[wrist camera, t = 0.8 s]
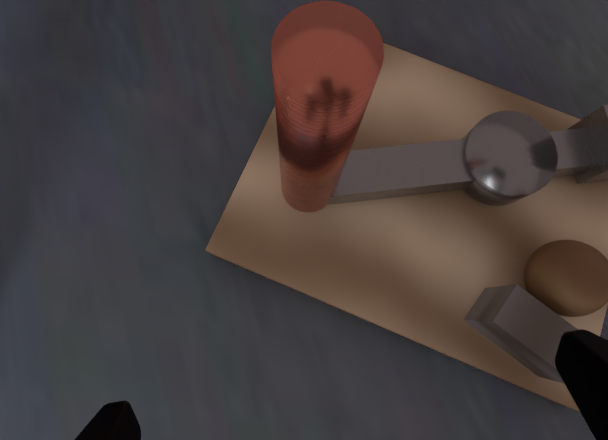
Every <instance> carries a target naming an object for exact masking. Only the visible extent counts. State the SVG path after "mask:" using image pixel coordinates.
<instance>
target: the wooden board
mask: <svg viewBox="0 0 608 440" xmlns="http://www.w3.org/2000/svg"><path fill="white" fill-rule="evenodd" d="M383 46H384V60H383V65H382V68H381V71H380V73H379V76H378V79H377V81H376V84H375V87H374V89H373V92H372V95H371V97H370V100H369V102H368V105H367V108H366V110H365V113H364V116H363V118H362V121H361V124H360V126H359V129H358V132H357V134H356V137H355V140H354V142H353V145H352V148H351V150H350V151H352V150H362V149H371V148H381V147H390V146H400V145H409V144H419V143H428V142H438V141H447V140H457V139H462V138H463V137H464V136H465V135H466V134H467V133H468V132H469V131H470V130H471V129H472V128H473V127H474V126H475V125H476V124H477V123H478V122H479V121H481V120H482V119H483V118H484V117H486V116H487V115H490V114H492V113H495V112H499V111H517V112H521V113H524V114H527V115H529V116H531V117H533V118H534V119H536V120H537V121H539V122H540V123H541V124H542V125H543V126H544V127H545V128H546V129H547V130H548V131H549V132H551V131H560V130H567V129H568V128H570V127H571V126H573V125H574V124H576V123H577V122H579V121H581V120H580V119H578V118H575V117H573V116H570V115H567V114H565V113H562V112H560V111H557V110H555V109H552V108H550V107H547V106H544V105H542V104H539V103H537V102H534V101H532V100H529V99H526V98H524V97H521V96H519V95H516V94H514V93H511V92H508V91H506V90H503V89H501V88H498V87H496V86H493V85H490V84H488V83H485V82H483V81H480V80H478V79H475V78H472V77H470V76H467V75H465V74H462V73H460V72H457V71H454V70H452V69H449V68H447V67H444V66H442V65H439V64H436V63H434V62H431V61H429V60H426V59H424V58H421V57H419V56H416V55H413V54H411V53H408V52H406V51H403V50H401V49H398V48H395V47H393V46H390V45H388V44H385V43H383ZM557 240H575V241H580V242H583V243H586V244H588V245H590V246H592V247H594V248H596V249H597V250H598V251H600V252H601V253H602V254H603V255H604V256H605V257H606V258H607V260H608V181H600V182H591V183H582V184H577V182H576V178H575V175H572V176H563V177H554V178H552V179H551V180H550V182H549V183H548V184H547V185H546V186H545V187H543V188H542V189H541V190H539V191H537V192H535V193H533V194H530V195H528V196H526V197H524V198H522V199H520V200H518V201H516V202H514V203H511V204H508V205H503V206H492V205H487V204H484V203H481V202H479V201H477V200H475V199H473V198H472V197H470V196H469V195H468V194H467V193H466V192H465V191H464V190H455V191H446V192H437V193H428V194H419V195H410V196H402V197H393V198H384V199H375V200H366V201H357V202H348V203H339V204H331V205H327V206H326V207H324V208H323V209H321V210H319V211H316V212H301V211H298V210H296V209H294V208H293V207H291V206H290V205H289V204H288V203H287V202H286V200H285V198H284V196H283V194H282V189H281V176H280V162H279V149H278V136H277V123H276V109H275V107H274V109H273V111H272V113H271V115H270V117H269V119H268V121H267V123H266V125H265V127H264V129H263V131H262V134H261V136H260V138H259V140H258V142H257V144H256V146H255V148H254V150H253V152H252V154H251V156H250V158H249V160H248V163H247V165H246V167H245V169H244V171H243V173H242V175H241V177H240V179H239V181H238V183H237V185H236V187H235V189H234V192H233V194H232V196H231V198H230V200H229V202H228V204H227V206H226V208H225V210H224V212H223V214H222V216H221V218H220V221H219V223H218V225H217V227H216V229H215V231H214V233H213V235H212V237H211V239H210V241H209V243H208V245H207V247H206V251H207V252H209V253H210V254H212V255H215V256H217V257H219V258H222V259H224V260H226V261H229V262H231V263H233V264H236V265H238V266H240V267H243V268H245V269H247V270H250V271H252V272H254V273H256V274H259V275H261V276H263V277H266V278H268V279H270V280H273V281H275V282H277V283H280V284H282V285H284V286H287V287H289V288H291V289H294V290H296V291H298V292H301V293H303V294H305V295H308V296H310V297H312V298H314V299H317V300H319V301H321V302H324V303H326V304H328V305H331V306H333V307H335V308H338V309H340V310H342V311H345V312H347V313H349V314H352V315H354V316H356V317H359V318H361V319H363V320H366V321H368V322H370V323H372V324H375V325H377V326H379V327H382V328H384V329H386V330H389V331H391V332H393V333H396V334H398V335H400V336H403V337H405V338H407V339H410V340H412V341H414V342H417V343H419V344H421V345H424V346H426V347H428V348H431V349H433V350H435V351H437V352H440V353H442V354H444V355H447V356H449V357H451V358H454V359H456V360H458V361H461V362H463V363H465V364H468V365H470V366H472V367H475V368H477V369H479V370H482V371H484V372H486V373H489V374H491V375H493V376H495V377H498V378H500V379H502V380H505V381H507V382H509V383H512V384H514V385H516V386H519V387H521V388H523V389H526V390H528V391H530V392H533V393H535V394H537V395H540V396H542V397H544V398H547V399H549V400H551V401H554V402H556V403H558V404H560V405H563V406H565V407H568V408H571V409H574V410H576V411H579V412H580V410H579V409H578V407H577V405H576V403H575V401H574V400H573V398H572V396H571V394H570V393H569V391H568V389H567V387H566V385H565V384H564V382H563V380H562V378H561V377H560V375H559V373H558V371H557V369H556V366H555V356H556V352H557V349H558V345H559V342H560V339H561V336H562V334H563V333H564V332H566V331H572V330H578V329H584V330H587V331H590V332H592V333H594V334H596V335H598V336H600V334H601V330H602V326H603V322H604V318H605V314H606V310H607V306H608V302H607V303H606V304H605V305H604V306H603V307H602V308H601V309H599V310H597V311H596V312H594V313H591V314H589V315H585V316H580V317H566V316H560V315H558V314H557V313H555V312H554V311H552V310H551V309H550V308H548V307H547V306H546V305H544V304H543V303H542V302H540V301H539V300H538V299H536V298H535V297H533V296H532V295H531V294H529V293H528V291H527V289H526V286H525V283H524V268H525V265H526V262H527V260H528V258H529V257H530V256H531V254H532V253H533V252H534V251H535V250H536V249H538V248H539V247H541V246H542V245H544V244H546V243H549V242H552V241H557Z"/></svg>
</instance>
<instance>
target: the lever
mask: <svg viewBox="0 0 608 440" xmlns="http://www.w3.org/2000/svg"><path fill="white" fill-rule="evenodd" d="M271 56H272V70H273V83H274V96H275V109H276V123H277V136H278V149H279V162H280V176H281V189H282V194H283V196H284V198H285V200H286V202H287V203H288V204H289V205H290V206H291V207H293V208H294V209H296V210H298V211H301V212H316V211H319V210H321V209H323V208H324V207H326V206H327V205H331V204H339V203H348V202H357V201H366V200H375V199H384V198H393V197H402V196H410V195H419V194H428V193H437V192H446V191H455V190H464V191H465V192H466V193H467V194H468V195H469V196H470V197H472V198H473V199H475V200H477V201H479V202H481V203H484V204H487V205H492V206H503V205H508V204H511V203H514V202H516V201H518V200H520V199H522V198H524V197H526V196H528V195H530V194H533V193H535V192H537V191H539V190H541V189H542V188H543V187H545V186H546V185H547V184H548V183H549V182H550V180H551V179H552V178H554V177H563V176H572V175H575V178H576V182H577V184H582V183H591V182H600V181H608V105H604V106H602V107H600V108H599V109H597V110H596V111H594V112H593V113H591V114H590V115H588V116H587V117H585V118H584V119H582V120H581V121H579V122H577V123H576V124H574V125H573V126H571V127H570V128H568V129H567V130H560V131H551V132H549V131H548V130H547V129H546V128H545V127H544V126H543V125H542V124H541V123H540V122H539V121H537V120H536V119H534V118H533V117H531V116H529V115H527V114H524V113H521V112H517V111H499V112H495V113H492V114H490V115H487V116H486V117H484V118H483V119H482V120H481V121H479V122H478V123H477V124H476V125H475V126H474V127H473V128H472V129H471V130H470V131H469V132H468V133H467V134H466V135H465V136H464V137H463V138H462V139H457V140H447V141H438V142H428V143H419V144H409V145H400V146H390V147H381V148H371V149H362V150H352V151H350V150H351V148H352V145H353V142H354V140H355V137H356V134H357V132H358V129H359V126H360V124H361V121H362V118H363V116H364V113H365V110H366V108H367V105H368V102H369V100H370V97H371V95H372V92H373V89H374V87H375V84H376V81H377V79H378V76H379V73H380V71H381V68H382V65H383V60H384V46H383V41H382V38H381V35H380V33H379V31H378V29H377V28H376V26H375V25H374V23H373V22H372V21H371V20H370V19H369V18H368V17H367V16H366V15H365V14H363V13H362V12H361V11H359V10H357V9H356V8H354V7H351V6H349V5H346V4H343V3H339V2H334V1H318V2H312V3H308V4H305V5H302V6H300V7H298V8H296V9H294V10H293V11H292V12H290V13H289V14H288V15H287V16H285V17H284V18H283V20H282V21H281V22H280V23H279V25H278V27H277V28H276V30H275V33H274V35H273V39H272V44H271Z"/></svg>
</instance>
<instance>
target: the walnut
mask: <svg viewBox="0 0 608 440" xmlns="http://www.w3.org/2000/svg"><path fill="white" fill-rule="evenodd" d="M524 283H525V286H526V289H527V291H528V293H529V294H531V295H532V296H533V297H535V298H536V299H538V300H539V301H540V302H542V303H543V304H544V305H546V306H547V307H548V308H550V309H551V310H552V311H554V312H555V313H557V314H558V315H560V316H566V317H580V316H585V315H589V314H591V313H594V312H596V311H597V310H599V309H601V308H602V307H603V306H604V305H605V304H606V303H607V302H608V260H607V258H606V257H605V256H604V255H603V254H602V253H601V252H600V251H598V250H597V249H596V248H594V247H592V246H590V245H588V244H586V243H583V242H580V241H575V240H557V241H552V242H549V243H546V244H544V245H542V246H541V247H539V248H538V249H536V250H535V251H534V252H533V253H532V254H531V256H530V257H529V258H528V260H527V262H526V265H525V268H524Z"/></svg>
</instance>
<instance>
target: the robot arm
mask: <svg viewBox="0 0 608 440" xmlns="http://www.w3.org/2000/svg"><path fill="white" fill-rule="evenodd" d="M555 366H556V369H557V371H558V373H559V375H560V377H561V378H562V380H563V382H564V384H565V385H566V387H567V389H568V391H569V393H570V394H571V396H572V398H573V400H574V401H575V403H576V405H577V407H578V409H579V410H580V412H581V414H582V416H583V417H584V419H585V421H586V423H587V425H588V426H589V428H590V430H591V432H592V433H593V435H594V437H595V438H596V440H608V340H606V339H604V338H602V337H600V336H598V335H596V334H594V333H592V332H590V331H587V330H584V329H578V330H572V331H566V332H564V333H563V334H562V336H561V339H560V342H559V345H558V349H557V352H556V356H555ZM75 440H141V429H140V425H139V423H138V421H137V418H136V416H135V414H134V412H133V409H132V407H131V405H130V403H129V402H127V401H119V402H112V403H108V404H106V405H104V406H103V407H102V408H101V409H100V410H99V412H98V413H97V414H96V415H95V416H94V418H93V419H92V420H91V421H90V422H89V423H88V425H87V426H86V427H85V428H84V429H83V430H82V432H81V433H80V434H79V435H78V436H77V437H76V439H75Z"/></svg>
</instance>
